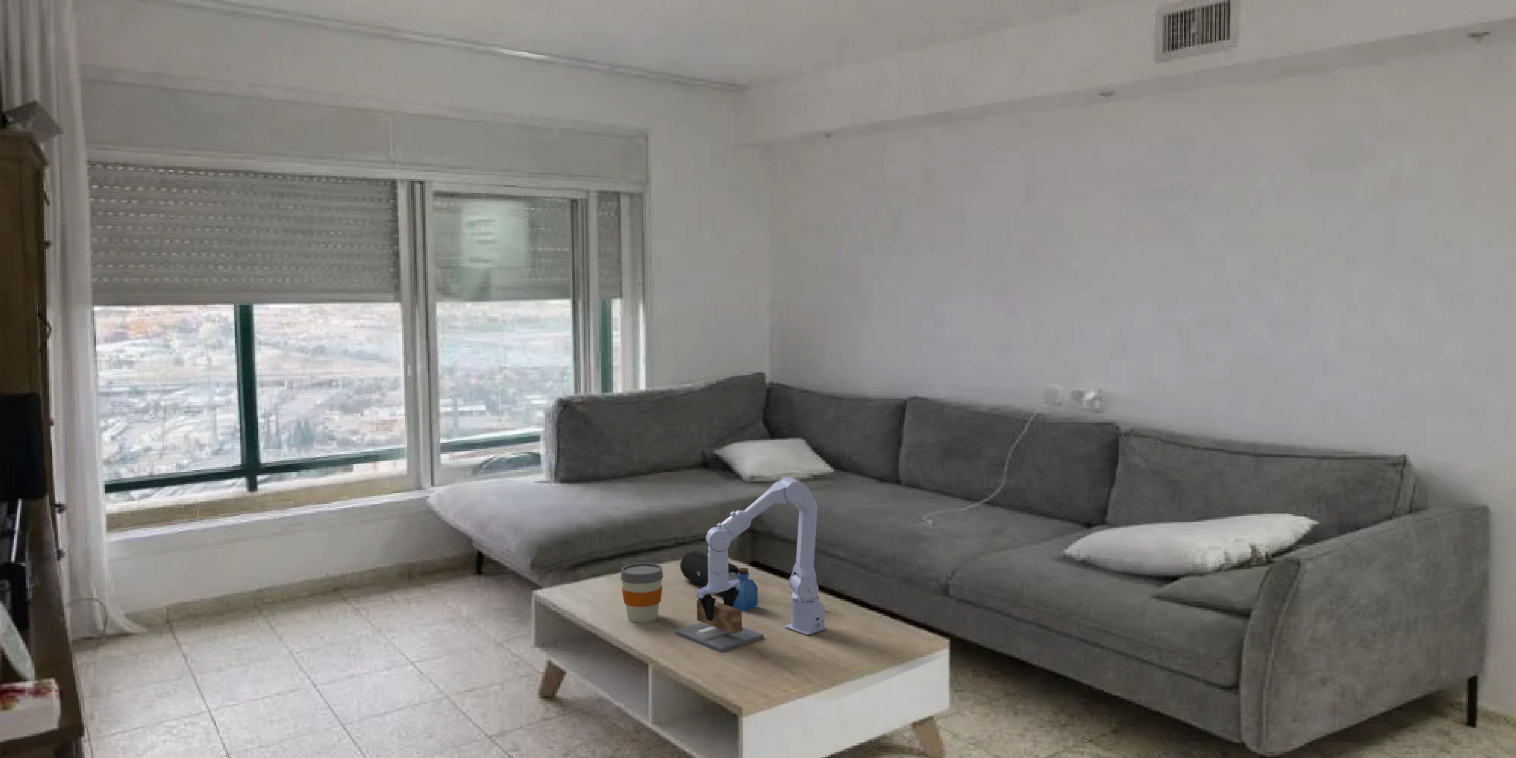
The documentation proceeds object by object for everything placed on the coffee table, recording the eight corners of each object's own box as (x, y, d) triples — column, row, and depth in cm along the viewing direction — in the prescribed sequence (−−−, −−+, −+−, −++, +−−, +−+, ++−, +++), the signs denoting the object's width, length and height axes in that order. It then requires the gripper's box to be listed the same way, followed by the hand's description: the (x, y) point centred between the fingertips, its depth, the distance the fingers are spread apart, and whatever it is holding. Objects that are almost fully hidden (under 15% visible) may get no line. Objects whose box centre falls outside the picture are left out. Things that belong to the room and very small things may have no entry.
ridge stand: (763, 637, 293) (763, 627, 293) (720, 652, 282) (720, 641, 282) (717, 620, 308) (717, 611, 308) (674, 633, 297) (674, 623, 297)
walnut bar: (741, 631, 290) (741, 610, 289) (733, 633, 288) (733, 612, 287) (705, 617, 302) (704, 597, 301) (697, 620, 300) (696, 599, 299)
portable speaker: (678, 581, 349) (677, 551, 348) (702, 575, 355) (702, 547, 354) (720, 599, 328) (720, 569, 327) (746, 594, 334) (746, 563, 333)
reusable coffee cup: (656, 625, 304) (655, 575, 303) (615, 623, 307) (614, 573, 305) (668, 612, 316) (668, 563, 315) (629, 609, 319) (628, 561, 317)
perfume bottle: (745, 611, 316) (745, 573, 315) (729, 608, 320) (729, 570, 318) (757, 606, 321) (757, 568, 320) (741, 602, 325) (741, 565, 323)
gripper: (728, 562, 301) (728, 608, 302) (689, 572, 291) (689, 619, 293) (744, 567, 296) (745, 613, 297) (705, 577, 286) (706, 625, 288)
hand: (718, 617), depth 295 cm, fingers open, 6 cm apart
